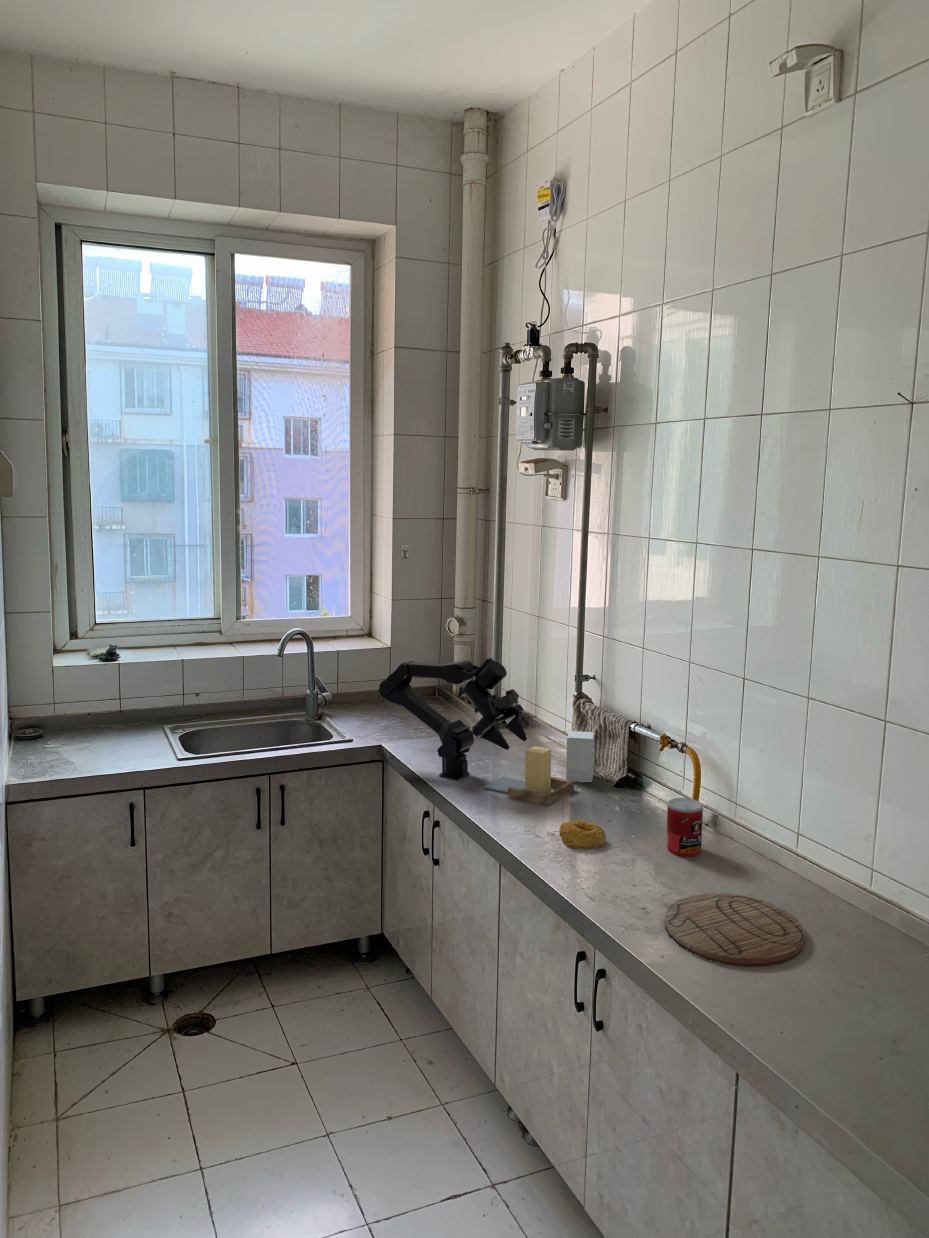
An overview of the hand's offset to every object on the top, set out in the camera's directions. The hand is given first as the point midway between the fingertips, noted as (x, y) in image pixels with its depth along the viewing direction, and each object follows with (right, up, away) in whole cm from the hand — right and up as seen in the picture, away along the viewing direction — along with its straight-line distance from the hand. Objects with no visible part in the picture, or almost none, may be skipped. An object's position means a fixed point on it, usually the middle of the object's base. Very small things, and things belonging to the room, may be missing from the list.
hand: (517, 744), depth 248 cm
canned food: (+36, -19, -39) cm, 56 cm away
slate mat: (-2, -12, +3) cm, 13 cm away
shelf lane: (+6, -13, -2) cm, 14 cm away
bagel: (+13, -18, -34) cm, 41 cm away
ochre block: (+5, -13, -2) cm, 14 cm away
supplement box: (+18, -11, +10) cm, 24 cm away
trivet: (+36, -25, -76) cm, 88 cm away
